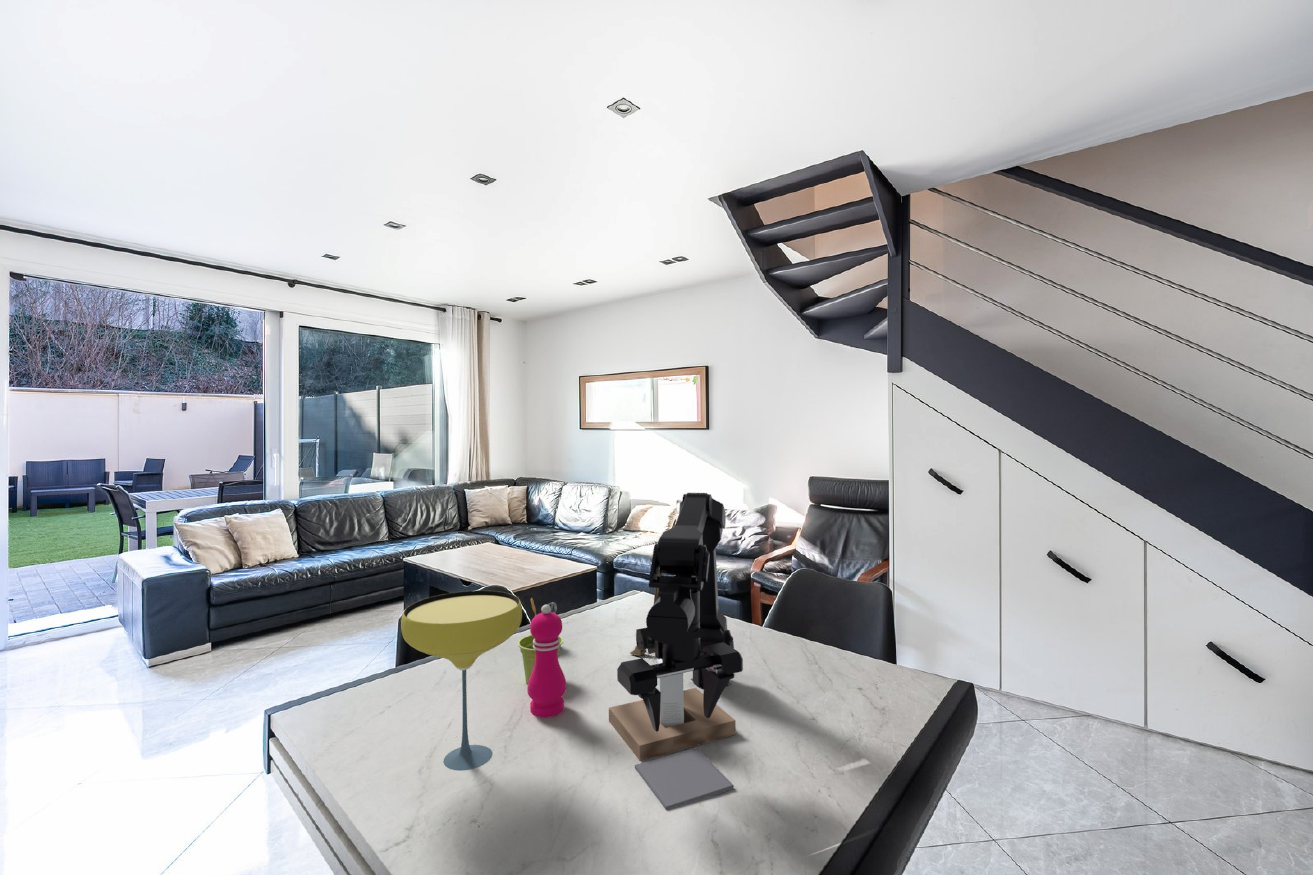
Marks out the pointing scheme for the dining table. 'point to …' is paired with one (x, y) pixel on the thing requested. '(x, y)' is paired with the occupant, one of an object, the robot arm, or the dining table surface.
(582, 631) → the dining table surface
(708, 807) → the dining table surface
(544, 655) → the pepper mill
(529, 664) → the plant pot
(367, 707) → the dining table surface
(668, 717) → the skincare box
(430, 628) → the cocktail glass
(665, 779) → the coaster
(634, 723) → the holder block
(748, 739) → the dining table surface
